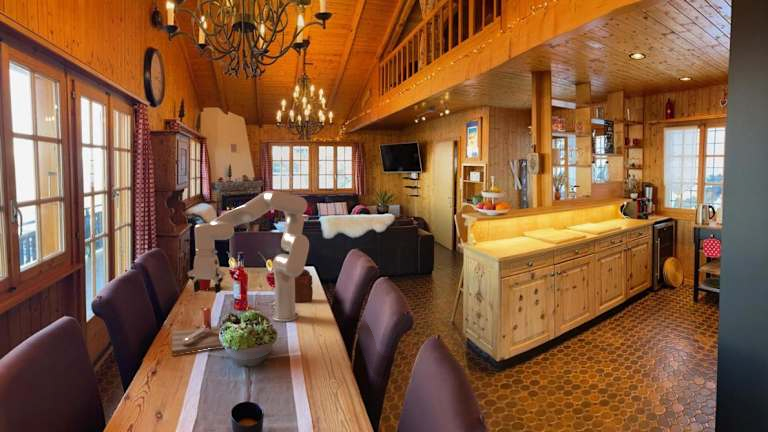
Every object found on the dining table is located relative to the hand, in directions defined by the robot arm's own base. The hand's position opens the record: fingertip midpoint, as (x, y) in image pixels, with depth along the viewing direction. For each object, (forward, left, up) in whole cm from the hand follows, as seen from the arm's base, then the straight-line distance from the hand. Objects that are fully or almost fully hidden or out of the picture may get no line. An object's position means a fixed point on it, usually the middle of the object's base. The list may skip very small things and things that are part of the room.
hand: (207, 291), depth 194 cm
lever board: (+5, -5, -20) cm, 21 cm away
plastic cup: (-81, +2, -20) cm, 84 cm away
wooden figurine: (-35, +50, -20) cm, 64 cm away
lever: (+6, -5, -17) cm, 19 cm away
